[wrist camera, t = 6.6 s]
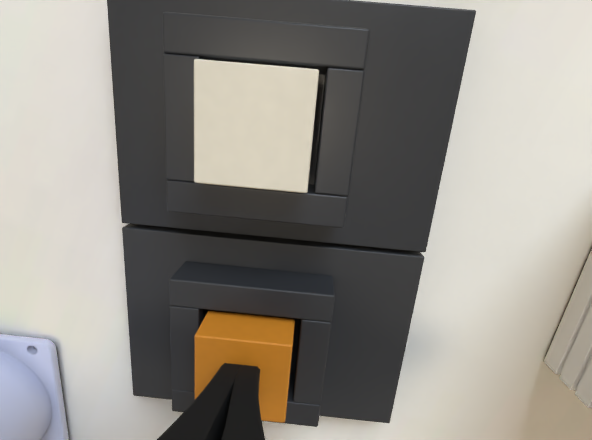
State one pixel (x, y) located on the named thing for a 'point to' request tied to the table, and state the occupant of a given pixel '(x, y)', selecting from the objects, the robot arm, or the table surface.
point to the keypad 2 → (327, 124)
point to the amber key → (248, 354)
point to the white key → (253, 125)
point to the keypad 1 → (273, 313)
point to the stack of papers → (575, 340)
